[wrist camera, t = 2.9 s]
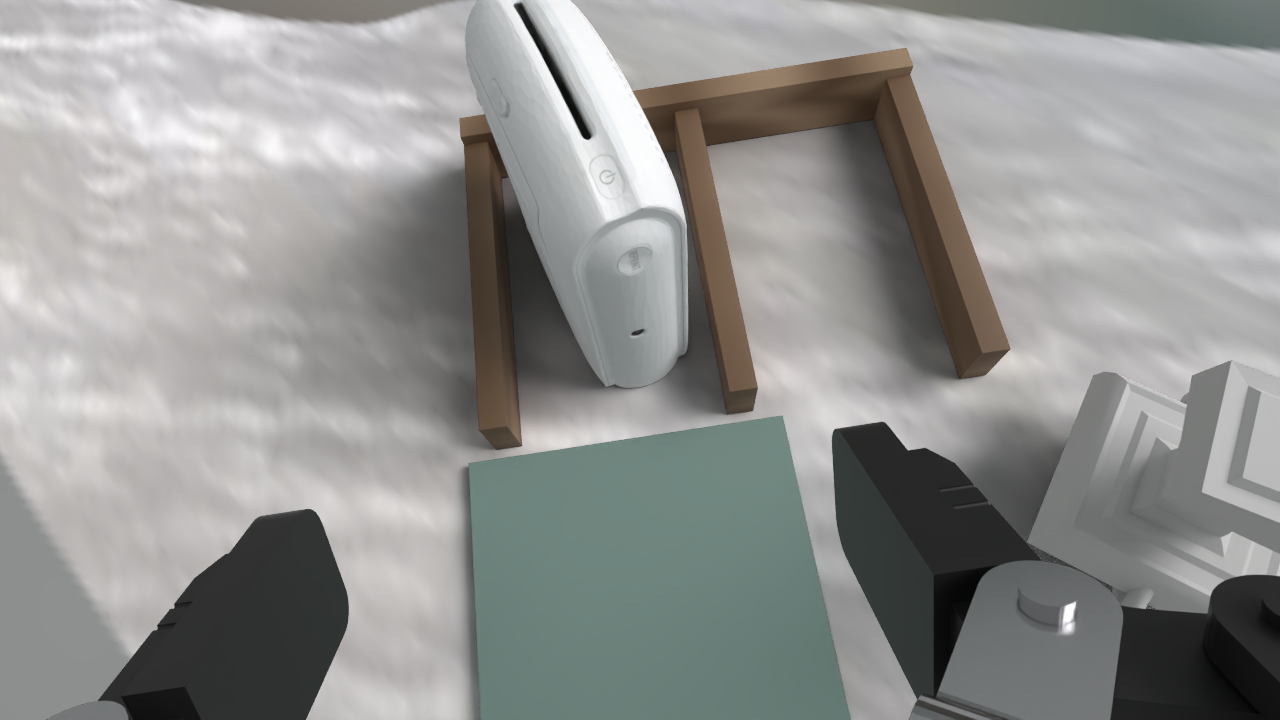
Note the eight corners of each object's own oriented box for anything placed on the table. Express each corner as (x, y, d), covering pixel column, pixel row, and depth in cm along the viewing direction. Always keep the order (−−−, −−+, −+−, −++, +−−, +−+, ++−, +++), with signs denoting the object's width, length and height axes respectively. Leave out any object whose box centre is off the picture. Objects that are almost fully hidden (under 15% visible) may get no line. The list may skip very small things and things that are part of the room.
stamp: (1070, 373, 28) (1208, 260, 21) (1256, 454, 27) (1483, 365, 19) (985, 586, 26) (1109, 548, 18) (1187, 692, 24) (1419, 699, 16)
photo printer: (704, 366, 30) (708, 174, 18) (604, 409, 29) (545, 240, 18) (605, 174, 34) (558, -82, 22) (516, 210, 33) (422, -33, 22)
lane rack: (889, 98, 34) (906, 47, 31) (985, 374, 29) (1016, 342, 26) (478, 163, 34) (459, 118, 32) (496, 449, 29) (475, 426, 26)
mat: (781, 418, 29) (782, 415, 28) (860, 773, 24) (863, 774, 23) (471, 466, 29) (468, 463, 28) (488, 827, 24) (485, 830, 24)
